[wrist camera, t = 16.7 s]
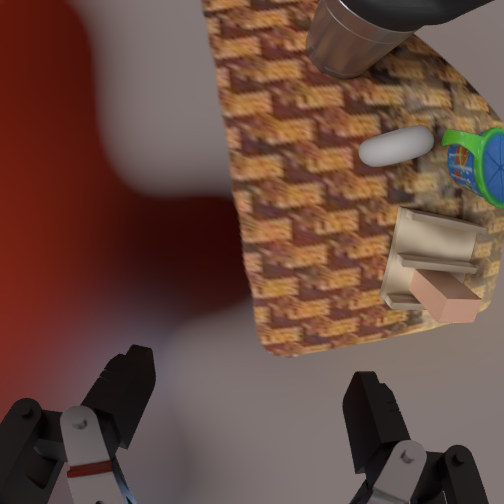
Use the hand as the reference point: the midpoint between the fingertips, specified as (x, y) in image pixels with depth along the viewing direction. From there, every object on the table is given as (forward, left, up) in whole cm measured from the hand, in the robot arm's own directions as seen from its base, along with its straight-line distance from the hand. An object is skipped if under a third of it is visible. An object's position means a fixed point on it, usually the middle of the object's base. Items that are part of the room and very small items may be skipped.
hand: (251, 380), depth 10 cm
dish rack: (+3, +27, -30) cm, 40 cm away
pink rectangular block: (+6, +27, -28) cm, 40 cm away
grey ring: (-12, +15, -30) cm, 35 cm away
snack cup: (-13, +30, -30) cm, 44 cm away
